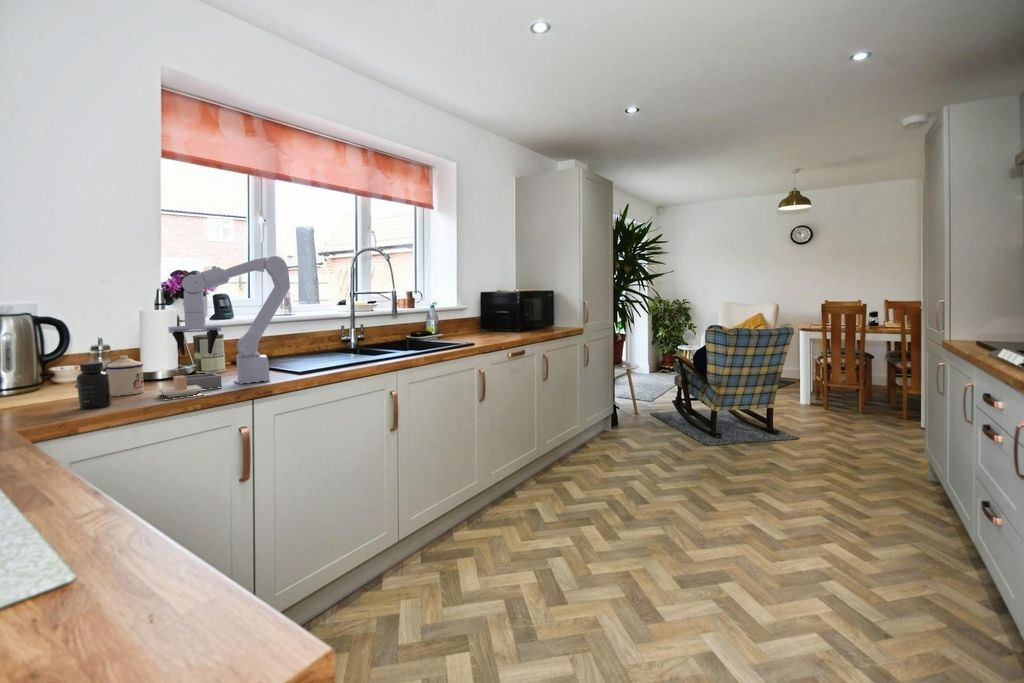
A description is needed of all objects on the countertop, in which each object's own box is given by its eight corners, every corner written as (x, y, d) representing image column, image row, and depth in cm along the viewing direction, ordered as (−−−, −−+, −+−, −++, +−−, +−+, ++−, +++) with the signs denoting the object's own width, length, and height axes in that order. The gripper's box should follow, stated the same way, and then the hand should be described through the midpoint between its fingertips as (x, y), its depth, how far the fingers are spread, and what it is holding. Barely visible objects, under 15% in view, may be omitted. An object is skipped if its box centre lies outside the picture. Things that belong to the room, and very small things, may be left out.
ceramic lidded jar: (141, 395, 157) (138, 356, 156) (104, 397, 153) (100, 358, 152) (150, 388, 168) (147, 352, 167) (115, 390, 164) (112, 353, 163)
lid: (196, 390, 161) (195, 373, 161) (202, 393, 156) (201, 376, 155) (159, 394, 155) (158, 377, 154) (164, 398, 149) (162, 380, 149)
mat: (197, 391, 162) (196, 390, 162) (203, 395, 155) (203, 394, 155) (158, 395, 155) (158, 394, 155) (163, 400, 149) (163, 399, 149)
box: (215, 384, 173) (214, 372, 173) (221, 388, 167) (220, 375, 167) (180, 388, 166) (179, 376, 166) (185, 392, 160) (184, 379, 160)
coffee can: (188, 373, 198) (186, 336, 196) (207, 369, 208) (204, 333, 206) (214, 373, 196) (211, 336, 195) (231, 369, 207) (229, 333, 205)
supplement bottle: (91, 404, 144) (87, 361, 143) (117, 403, 145) (113, 360, 144) (72, 410, 138) (68, 364, 136) (100, 409, 138) (96, 364, 137)
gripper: (170, 313, 162) (172, 357, 163) (222, 312, 171) (224, 353, 172) (166, 312, 167) (168, 354, 168) (217, 311, 176) (219, 351, 178)
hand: (196, 354), depth 171 cm, fingers open, 7 cm apart
